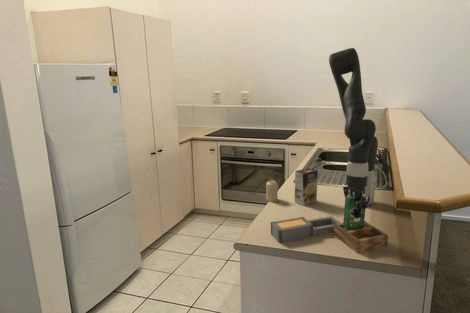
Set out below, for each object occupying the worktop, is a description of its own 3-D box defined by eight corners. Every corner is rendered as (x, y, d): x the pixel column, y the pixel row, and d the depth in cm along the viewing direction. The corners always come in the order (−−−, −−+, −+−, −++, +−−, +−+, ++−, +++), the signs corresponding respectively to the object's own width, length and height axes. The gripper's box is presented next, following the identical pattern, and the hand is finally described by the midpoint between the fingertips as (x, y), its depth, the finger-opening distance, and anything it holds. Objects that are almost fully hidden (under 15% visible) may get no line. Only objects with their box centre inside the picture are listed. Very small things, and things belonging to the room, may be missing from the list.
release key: (301, 229, 144) (301, 219, 143) (306, 234, 139) (307, 223, 138) (276, 233, 141) (276, 223, 140) (281, 238, 136) (281, 228, 135)
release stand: (331, 222, 150) (331, 211, 149) (342, 231, 142) (343, 219, 141) (270, 233, 142) (270, 221, 141) (279, 243, 134) (279, 231, 133)
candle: (266, 197, 181) (266, 178, 178) (277, 197, 180) (277, 179, 177) (266, 201, 175) (266, 182, 173) (277, 201, 175) (277, 182, 172)
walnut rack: (361, 229, 143) (362, 219, 142) (387, 246, 129) (388, 235, 128) (333, 234, 139) (333, 224, 138) (356, 253, 126) (357, 241, 124)
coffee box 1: (303, 206, 168) (304, 174, 164) (294, 202, 173) (294, 170, 169) (317, 201, 173) (318, 170, 169) (307, 198, 178) (308, 167, 174)
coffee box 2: (360, 224, 139) (362, 193, 136) (364, 227, 137) (367, 195, 133) (342, 227, 137) (344, 196, 134) (347, 231, 134) (348, 198, 131)
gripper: (337, 169, 137) (335, 210, 141) (360, 179, 124) (357, 225, 128) (354, 167, 139) (351, 208, 143) (378, 177, 126) (374, 221, 130)
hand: (354, 215), depth 136 cm, fingers closed on coffee box 2, 3 cm apart
